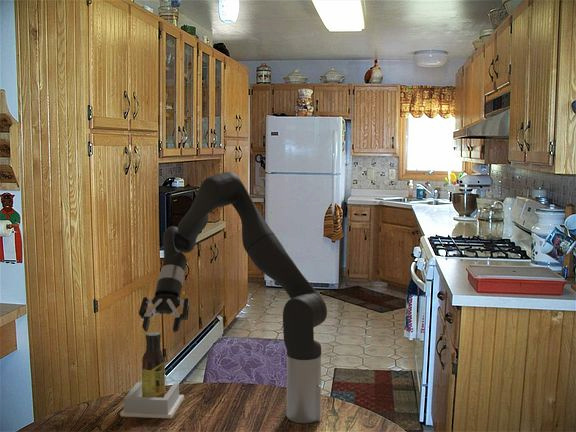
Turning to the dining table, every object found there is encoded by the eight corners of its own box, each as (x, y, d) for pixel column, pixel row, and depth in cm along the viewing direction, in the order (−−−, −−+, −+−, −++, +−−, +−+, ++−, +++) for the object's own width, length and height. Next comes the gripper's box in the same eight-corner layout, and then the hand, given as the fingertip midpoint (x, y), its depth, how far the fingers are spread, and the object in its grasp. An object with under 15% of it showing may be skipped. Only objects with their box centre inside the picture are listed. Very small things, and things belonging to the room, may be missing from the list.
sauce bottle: (159, 409, 159) (158, 338, 157) (138, 407, 161) (136, 336, 158) (169, 399, 166) (168, 331, 164) (148, 397, 167) (147, 329, 165)
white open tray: (184, 398, 169) (183, 381, 168) (171, 418, 156) (171, 400, 156) (136, 396, 170) (136, 379, 170) (120, 416, 157) (119, 398, 157)
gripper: (144, 275, 177) (132, 324, 167) (191, 276, 176) (181, 325, 166) (150, 289, 183) (139, 336, 172) (195, 290, 181) (186, 337, 171)
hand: (160, 330), depth 169 cm, fingers open, 8 cm apart
